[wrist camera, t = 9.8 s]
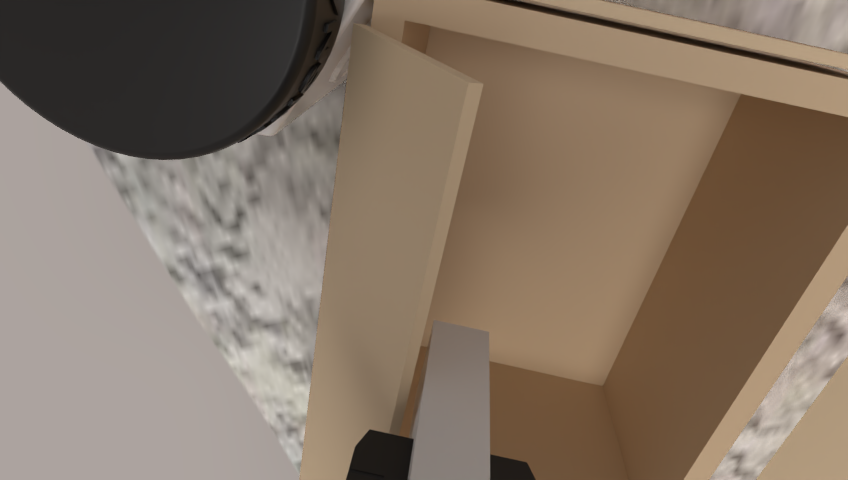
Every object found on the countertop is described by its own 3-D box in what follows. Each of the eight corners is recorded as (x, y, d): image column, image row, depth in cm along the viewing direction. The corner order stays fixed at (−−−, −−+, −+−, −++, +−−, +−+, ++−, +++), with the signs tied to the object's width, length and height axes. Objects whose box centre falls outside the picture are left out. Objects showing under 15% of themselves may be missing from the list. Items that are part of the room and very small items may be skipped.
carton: (422, -41, 20) (380, -47, 12) (781, 38, 20) (977, 83, 12) (358, 343, 29) (309, 485, 21) (606, 399, 29) (652, 562, 21)
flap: (365, 24, 12) (353, 22, 12) (483, 83, 9) (468, 82, 8) (307, 476, 20) (299, 479, 19) (357, 609, 16) (348, 613, 16)
